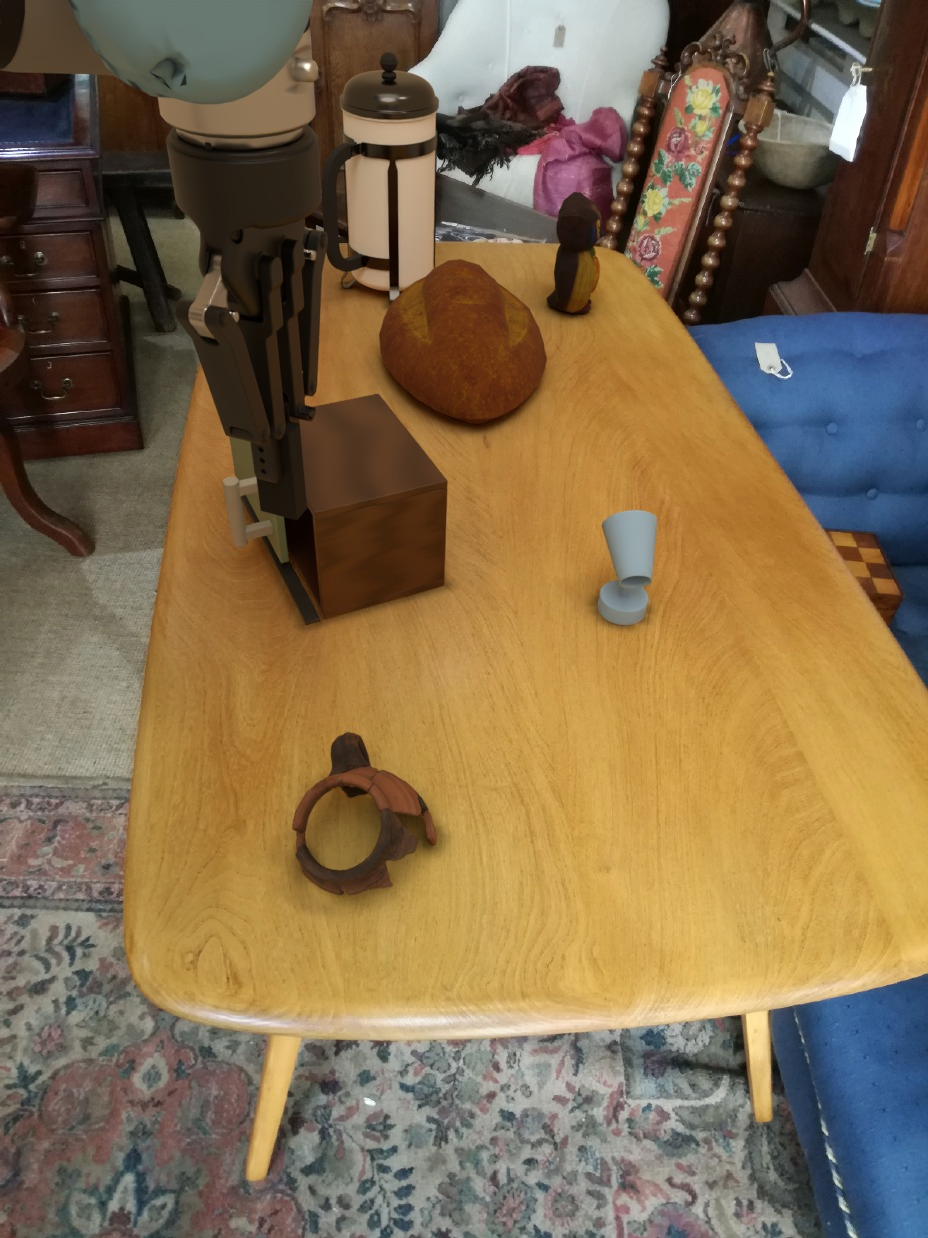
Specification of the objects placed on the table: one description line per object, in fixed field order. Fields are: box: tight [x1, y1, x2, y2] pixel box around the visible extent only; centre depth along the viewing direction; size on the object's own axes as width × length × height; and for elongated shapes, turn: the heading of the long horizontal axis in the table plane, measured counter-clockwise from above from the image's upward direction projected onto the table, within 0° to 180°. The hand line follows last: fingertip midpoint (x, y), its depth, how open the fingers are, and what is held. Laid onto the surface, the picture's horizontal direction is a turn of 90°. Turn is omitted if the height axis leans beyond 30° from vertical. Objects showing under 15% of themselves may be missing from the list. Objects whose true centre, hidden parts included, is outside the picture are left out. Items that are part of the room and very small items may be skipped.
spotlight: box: [596, 509, 658, 626], centre depth 84 cm, size 5×10×7 cm
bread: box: [378, 258, 548, 424], centre depth 115 cm, size 21×33×12 cm, turn 3°
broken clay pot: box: [291, 731, 438, 897], centre depth 66 cm, size 12×10×8 cm
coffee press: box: [321, 51, 440, 306], centre depth 126 cm, size 17×16×30 cm
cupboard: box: [241, 393, 449, 626], centre depth 89 cm, size 14×21×12 cm, turn 26°
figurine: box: [546, 191, 606, 315], centre depth 129 cm, size 10×7×15 cm
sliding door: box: [222, 437, 290, 563], centre depth 89 cm, size 5×16×10 cm, turn 26°
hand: (284, 509), depth 63 cm, fingers closed
